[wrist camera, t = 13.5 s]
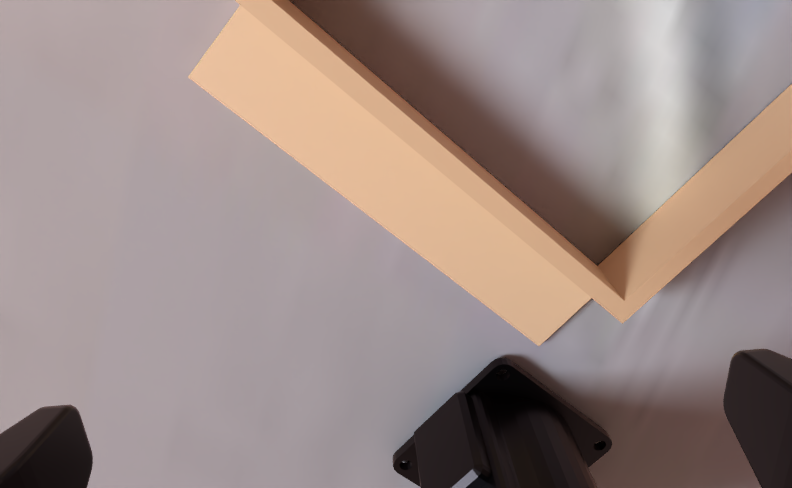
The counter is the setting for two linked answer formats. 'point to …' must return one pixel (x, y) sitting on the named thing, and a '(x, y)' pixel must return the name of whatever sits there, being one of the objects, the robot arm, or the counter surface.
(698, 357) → the counter surface
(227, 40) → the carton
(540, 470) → the robot arm
